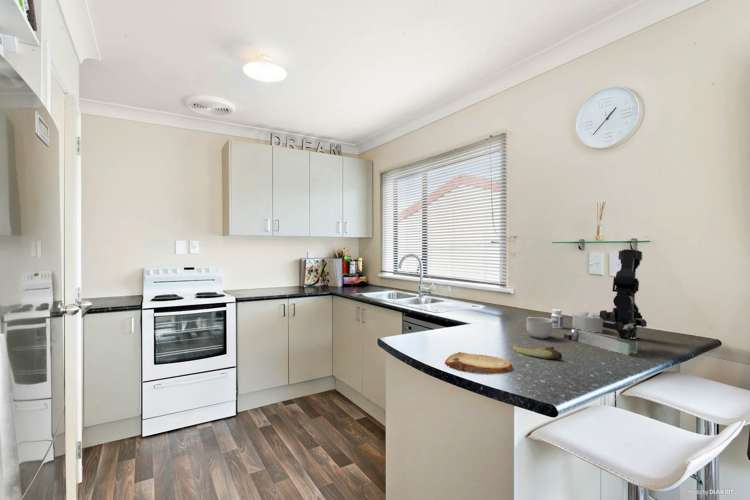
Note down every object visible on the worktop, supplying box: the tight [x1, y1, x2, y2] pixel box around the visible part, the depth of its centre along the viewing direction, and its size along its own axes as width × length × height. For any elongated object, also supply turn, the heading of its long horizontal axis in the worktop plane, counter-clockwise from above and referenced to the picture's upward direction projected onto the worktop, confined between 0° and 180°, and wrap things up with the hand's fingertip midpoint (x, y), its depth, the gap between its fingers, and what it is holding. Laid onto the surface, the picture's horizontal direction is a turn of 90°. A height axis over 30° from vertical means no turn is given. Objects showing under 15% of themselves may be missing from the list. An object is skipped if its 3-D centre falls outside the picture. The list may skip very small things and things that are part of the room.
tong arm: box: [582, 330, 638, 354], centre depth 144 cm, size 20×1×4 cm, turn 33°
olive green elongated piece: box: [512, 343, 563, 360], centre depth 133 cm, size 20×10×3 cm, turn 40°
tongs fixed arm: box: [563, 328, 631, 356], centre depth 145 cm, size 26×4×4 cm, turn 22°
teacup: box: [525, 316, 553, 339], centre depth 160 cm, size 14×11×8 cm
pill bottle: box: [550, 308, 564, 329], centre depth 178 cm, size 5×5×9 cm
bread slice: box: [444, 351, 514, 374], centre depth 118 cm, size 18×18×4 cm
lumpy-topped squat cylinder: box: [572, 310, 604, 332], centre depth 174 cm, size 10×13×9 cm
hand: (624, 345), depth 141 cm, fingers closed
